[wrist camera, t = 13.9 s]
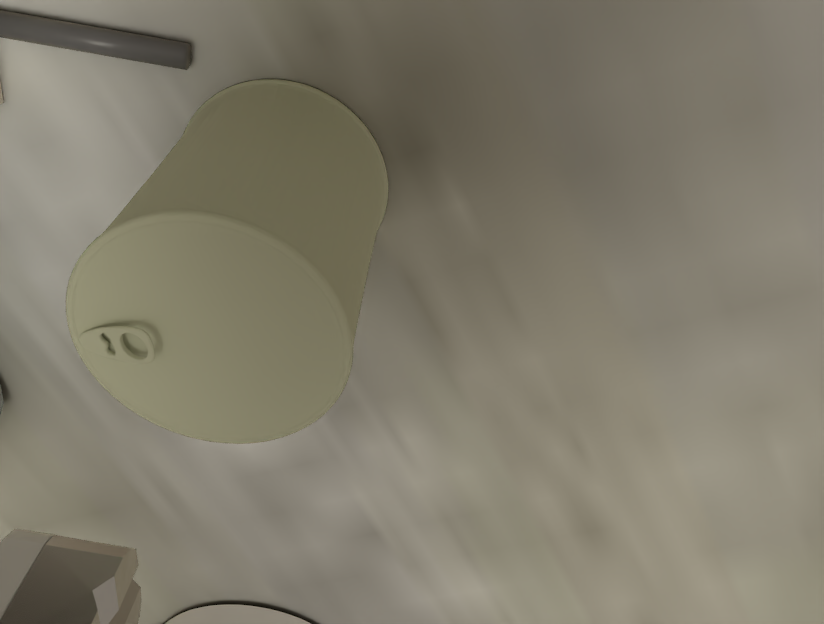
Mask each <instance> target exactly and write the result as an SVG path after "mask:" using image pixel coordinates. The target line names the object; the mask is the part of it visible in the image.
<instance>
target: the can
mask: <svg viewBox="0 0 824 624" xmlns="http://www.w3.org/2000/svg"><path fill="white" fill-rule="evenodd" d="M387 201H388V177H387V171H386V166H385V163H384V160H383V157H382V154H381V152H380V149H379V147H378V145H377V143H376V141H375V140H374V138H373V136H372V135H371V133H370V132H369V130H368V129H367V127H366V126H365V125H364V124H363V122H362V121H361V120H360V119H359V118H358V117H357V116H356V115H355V114H354V113H353V112H352V111H351V110H350V109H348V108H347V107H346V106H345V105H343V104H342V103H341V102H339V101H338V100H336V99H335V98H333V97H332V96H330V95H328V94H326V93H324V92H322V91H320V90H318V89H316V88H313V87H310V86H308V85H305V84H301V83H297V82H293V81H287V80H279V79H261V80H252V81H248V82H243V83H240V84H237V85H234V86H231V87H229V88H226V89H225V90H223V91H221V92H219V93H217V94H216V95H214V96H213V97H211V98H210V99H209V100H208V101H206V102H205V103H204V104H203V105H202V106H201V107H200V108H199V109H198V110H197V112H196V113H195V114H194V115H193V117H192V118H191V120H190V121H189V123H188V125H187V127H186V129H185V131H184V134H183V136H182V137H181V139H180V140H179V141H178V143H177V144H176V145H175V146H174V148H173V149H172V150H171V151H170V153H169V154H168V155H167V157H166V158H165V159H164V160H163V162H162V163H161V164H160V165H159V167H158V168H157V169H156V170H155V171H154V173H153V174H152V175H151V176H150V178H149V179H148V180H147V181H146V182H145V184H144V185H143V186H142V187H141V188H140V190H139V191H138V192H137V193H136V195H135V196H134V197H133V198H132V199H131V201H130V202H129V203H128V204H127V205H126V207H125V208H124V209H123V210H122V211H121V213H120V214H119V215H118V216H117V218H116V219H115V220H114V221H113V222H112V223H111V224H110V226H109V227H108V228H107V229H106V230H105V231H104V232H103V234H101V235H100V236H99V237H97V238H96V239H95V240H94V241H93V242H92V243H91V244H90V245H89V246H88V247H87V249H86V250H85V251H84V252H83V254H82V255H81V257H80V258H79V259H78V261H77V263H76V265H75V267H74V269H73V271H72V274H71V276H70V279H69V283H68V287H67V294H66V315H67V322H68V327H69V330H70V334H71V338H72V340H73V343H74V345H75V347H76V349H77V351H78V353H79V355H80V357H81V359H82V360H83V362H84V363H85V365H86V366H87V368H88V369H89V371H90V372H91V374H92V375H93V376H94V377H95V378H96V380H97V381H98V382H99V383H100V384H101V385H102V386H103V387H104V388H105V389H106V390H107V391H108V392H109V393H110V394H111V395H112V396H113V397H114V398H116V399H117V400H118V401H119V402H121V403H122V404H123V405H124V406H126V407H127V408H129V409H130V410H132V411H133V412H135V413H136V414H138V415H139V416H141V417H143V418H145V419H146V420H148V421H150V422H152V423H154V424H156V425H158V426H160V427H162V428H165V429H168V430H170V431H173V432H176V433H178V434H181V435H184V436H187V437H192V438H196V439H201V440H205V441H210V442H219V443H235V444H243V443H256V442H264V441H270V440H274V439H277V438H281V437H284V436H288V435H290V434H293V433H295V432H297V431H299V430H301V429H303V428H305V427H307V426H309V425H310V424H312V423H313V422H315V421H316V420H318V419H319V418H320V417H322V416H323V415H324V414H325V413H326V412H327V411H328V410H329V409H330V408H331V407H332V406H333V404H334V403H335V402H336V401H337V399H338V398H339V396H340V395H341V393H342V391H343V389H344V387H345V385H346V383H347V381H348V378H349V375H350V371H351V367H352V360H353V344H354V338H355V333H356V328H357V323H358V317H359V312H360V307H361V303H362V298H363V293H364V288H365V283H366V279H367V274H368V269H369V264H370V260H371V256H372V251H373V247H374V242H375V238H376V234H377V231H378V229H379V227H380V225H381V222H382V220H383V217H384V214H385V211H386V207H387Z"/></svg>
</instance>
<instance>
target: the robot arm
mask: <svg viewBox="0 0 824 624" xmlns="http://www.w3.org/2000/svg"><path fill="white" fill-rule="evenodd" d="M137 568H138V559H137V552H136V549H134V548H128V547H122V546H116V545H110V544H105V543H99V542H93V541H87V540H81V539H75V538H69V537H63V536H58V535H54V534H47V533H41V532H34V531H28V530H21V529H14V530H13V531H12V532H11V533H10V534H8V535H7V536H6V537H5V538H4V539H3V540H2V541H1V542H0V624H138V621H139V617H140V609H141V587H140V586H139V585H138V584H137V583H136V582H135V581H134V580H133V577H134V574H135V572H136V570H137ZM165 624H311V623H309V622H307V621H305V620H302V619H300V618H298V617H295V616H292V615H289V614H286V613H283V612H280V611H276V610H272V609H267V608H262V607H256V606H248V605H212V606H205V607H200V608H196V609H192V610H189V611H186V612H183V613H181V614H179V615H177V616H175V617H174V618H172V619H171V620H169V621H168V622H166V623H165Z"/></svg>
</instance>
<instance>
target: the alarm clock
mask: <svg viewBox="0 0 824 624" xmlns="http://www.w3.org/2000/svg"><path fill="white" fill-rule="evenodd" d="M3 404H4V401H3V396H2V390H1V385H0V414H1V411H2V407H3Z"/></svg>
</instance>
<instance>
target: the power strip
mask: <svg viewBox="0 0 824 624" xmlns="http://www.w3.org/2000/svg"><path fill="white" fill-rule="evenodd" d="M0 37H2V38H8V39H14V40H19V41H25V42H31V43H37V44H42V45H48V46H54V47H59V48H65V49H71V50H76V51H82V52H88V53H94V54H99V55H105V56H111V57H116V58H122V59H128V60H134V61H139V62H145V63H151V64H156V65H162V66H168V67H173V68H179V69H185V70H187V69H188V68H189V66H190V62H191V46H190V44H189V43H184V42H178V41H172V40H167V39H161V38H155V37H150V36H144V35H138V34H133V33H127V32H121V31H116V30H110V29H104V28H99V27H93V26H87V25H82V24H76V23H70V22H65V21H59V20H53V19H48V18H42V17H36V16H31V15H25V14H19V13H14V12H8V11H2V10H0ZM2 103H4V100H3V94H2V88H1V82H0V105H1V104H2Z"/></svg>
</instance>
